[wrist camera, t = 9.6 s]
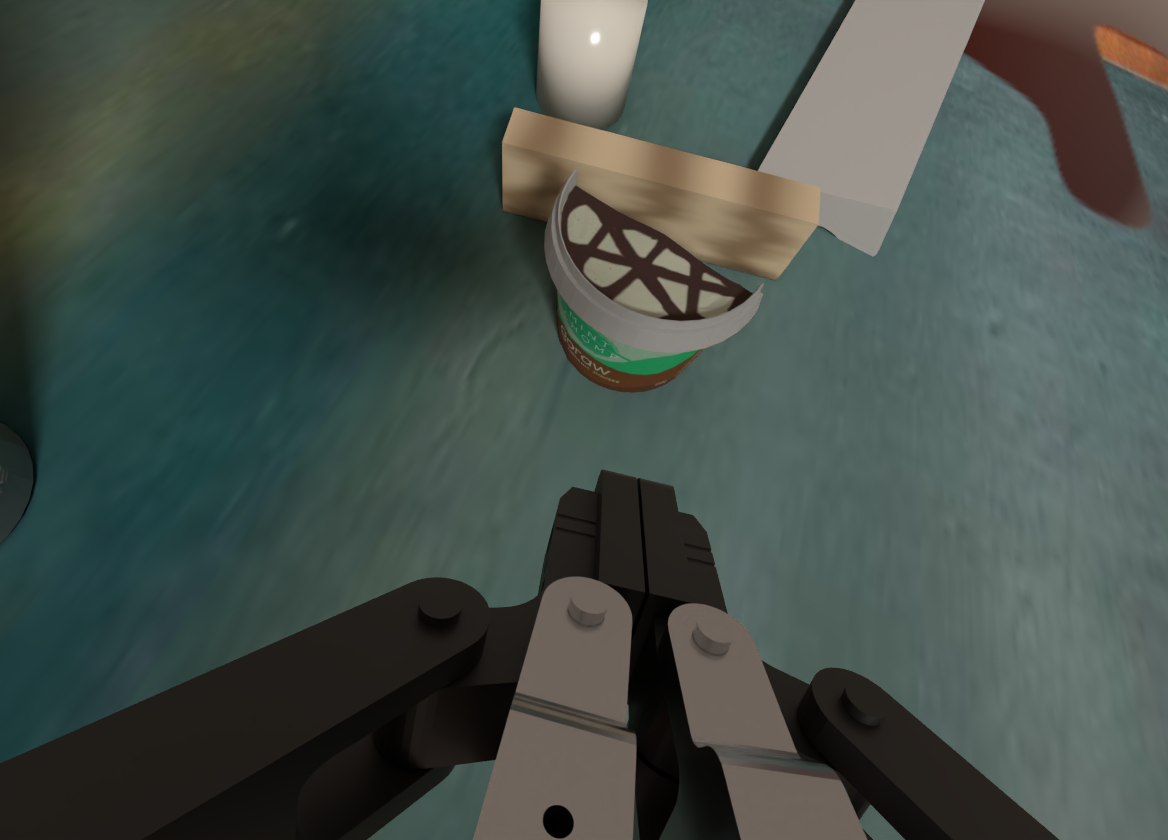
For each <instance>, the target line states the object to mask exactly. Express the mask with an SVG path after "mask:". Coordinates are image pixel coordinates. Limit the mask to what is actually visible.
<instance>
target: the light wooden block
mask: <svg viewBox="0 0 1168 840" xmlns="http://www.w3.org/2000/svg"><path fill="white" fill-rule="evenodd" d="M575 169H576V170H577V186H578V187H579V188H581V189H582V190H584V191H586V192H587V193H589V194H590V195H592V196H594V197H595V198H597V199H598V200H600V201H602V202H603V203H605V204H607V205H608V206H610V207H612V208H613V209H615V210H616V211H618V212H620V213H622V214H624V215H626V216H628V217H630V218H632V219H634V220H636V221H639V222H641V223H643V224H645V225H647V226H649V227H651V228H653V229H655V230H657V231H659V232H661V233H663V234H665V235H666V236H668V237H669V238H670V239H672V240H673V241H675V242H676V243H677V244H679V245H680V246H681V247H683V248H684V249H685V250H687V251H688V252H689V253H690V254H692V255H693V256H694V257H695V258H697V259H698V260H699V261H702V262H706V263H710V264H714V265H718V266H722V267H726V268H730V269H733V270H737V271H741V272H745V273H749V274H753V275H757V276H761V277H765V278H769V279H773V280H777V279H778V277H779V276H780V275H781V273H782V272H783V271H784V269H785V268H786V267H787V265H788V264H789V263H790V261H791V260H792V259H793V257H794V256H795V255H796V253H797V252H798V251H799V250H800V248H801V247H802V246H803V244H804V243H805V242H806V240H807V239H808V238H809V236H810V235H811V234H812V232H813V231H814V230H815V228H816V227H817V226H818V224H819V208H820V193H821V188H820V187H817V186H813V185H809V184H805V183H801V182H797V181H794V180H790V179H786V178H782V177H778V176H775V175H771V174H767V173H763V172H759V171H755V170H752V169H748V168H744V167H740V166H736V165H733V164H729V163H725V162H721V161H717V160H714V159H710V158H706V157H702V156H698V155H694V154H691V153H687V152H683V151H679V150H675V149H672V148H668V147H664V146H660V145H656V144H653V143H649V142H645V141H641V140H637V139H633V138H630V137H626V136H622V135H618V134H614V133H611V132H607V131H603V130H599V129H595V128H591V127H588V126H584V125H580V124H576V123H572V122H569V121H565V120H561V119H557V118H553V117H550V116H546V115H542V114H538V113H534V112H530V111H527V110H523V109H519V108H515V107H514V110H513V113H512V116H511V118H510V121H509V124H508V127H507V130H506V133H505V136H504V138H503V141H502V180H503V211H505V212H509V213H513V214H517V215H521V216H525V217H529V218H533V219H537V220H541V221H545V222H548V218H549V215H550V213H551V210H552V208H553V205H554V203H555V201H556V198H557V196H558V194H559V192H560V190H561V188H562V186H563V185H564V184H565V182H566V181H567V180H568V178H569V177H570V176H571V175H572V173H573V172H574V171H575Z"/></svg>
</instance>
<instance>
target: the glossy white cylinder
mask: <svg viewBox="0 0 1168 840" xmlns="http://www.w3.org/2000/svg"><path fill="white" fill-rule="evenodd" d="M647 2H648V0H541V10H540V29H539V47H538V66H537V84H536V99H537V102H538V105H539V107H540V109H541V110H542V112H543V113H544V114H545V115H546V116H550V117H553V118H557V119H561V120H565V121H569V122H572V123H576V124H580V125H584V126H588V127H591V128H595V129H599V130H602V129H605V128H607V127H609V126H611V125H613V124H614V123H615V122H616V121H618V119H619V118H620V117H621V115H622V113H623V110H624V107H625V102H626V98H627V93H628V89H629V84H630V80H631V75H632V71H633V66H634V62H635V57H636V53H637V48H638V44H639V39H640V34H641V30H642V25H643V21H644V16H645V12H646V7H647Z"/></svg>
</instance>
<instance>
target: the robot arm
mask: <svg viewBox="0 0 1168 840" xmlns="http://www.w3.org/2000/svg"><path fill="white" fill-rule="evenodd" d="M32 485H33V464H32V460H31V457H30V454H29V451H28V448H27V447H26V446H25V444H24V443H23V441H22V440H21V438H20V437H19V436H18V435H17V434H16V433H15V432H14V431H12V430H11V429H10V428H9V427H7V426H6V425H4V424H2V423H0V544H1V543H2V542H3V541H4V540H5V539H6V538H7V537H8V535H9V534H10V533H11V531H12V530H13V528H14V527H15V525H16V524H17V523H18V521H19V520H20V518H21V516H22V514H23V512H24V510H25V508H26V506H27V503H28V501H29V499H30V494H31V490H32ZM714 565H715V562H714V559H713V555H712V553H711V547H710V543H709V539H708V535H707V532H706V531H705V529H704V528H703V527H702V526H701V524H700V523H699V522H698V521H697V519H696V518H695V517H694V516H693V515H690V514H686V513H682V512H678V507H677V502H676V497H675V491H674V487H673V486H670V485H666V484H661V483H657V482H653V481H649V480H645V479H641V478H638V479H637V478H636V477H632V476H628V475H623V474H619V473H615V472H611V471H607V470H601V472H600V475H599V478H598V481H597V485H596V488H595V491H594V492H592V491H588V490H584V489H580V488H576V487H572V488H571V489H570V490H569V491H567V492H566V493H565V494H564V495H563V496H562V497H561V498H560V501H559V505H558V509H557V512H556V516H555V520H554V524H553V528H552V531H551V535H550V539H549V543H548V546H547V550H546V554H545V558H544V563H543V569H542V574H541V580H540V585H539V592H538V596H536V597H535V598H534V599H532V600H530V601H528V602H526V603H524V604H521V605H517V606H512V607H501V608H489V607H488V604H487V602H486V601H485V599H484V597H483V596H482V595H481V594H480V593H479V592H478V591H477V590H475V589H474V588H473V587H471V586H469V585H467V584H465V583H463V582H460V581H457V580H453V579H448V578H425V579H421V580H417V581H414V582H411V583H409V584H406V585H404V586H402V587H400V588H397V589H395V590H393V591H391V592H388V593H386V594H384V595H382V596H379V597H377V598H375V599H372V600H370V601H368V602H366V603H363V604H361V605H359V606H357V607H354V608H352V609H350V610H348V611H345V612H343V613H341V614H338V615H336V616H334V617H332V618H329V619H327V620H325V621H323V622H320V623H318V624H316V625H314V626H311V627H309V628H307V629H304V630H302V631H300V632H298V633H295V634H293V635H291V636H289V637H286V638H284V639H282V640H280V641H277V642H275V643H273V644H270V645H268V646H266V647H264V648H261V649H259V650H257V651H255V652H252V653H250V654H248V655H245V656H243V657H241V658H239V659H236V660H234V661H232V662H230V663H227V664H225V665H223V666H221V667H218V668H216V669H214V670H211V671H209V672H207V673H205V674H202V675H200V676H198V677H196V678H193V679H191V680H189V681H187V682H184V683H182V684H180V685H177V686H175V687H173V688H171V689H168V690H166V691H164V692H162V693H159V694H157V695H155V696H153V697H150V698H148V699H146V700H143V701H141V702H139V703H137V704H134V705H132V706H130V707H128V708H125V709H123V710H121V711H119V712H116V713H114V714H112V715H109V716H107V717H105V718H103V719H100V720H98V721H96V722H94V723H91V724H89V725H87V726H84V727H82V728H80V729H78V730H75V731H73V732H71V733H69V734H66V735H64V736H62V737H60V738H57V739H55V740H53V741H50V742H48V743H46V744H44V745H41V746H39V747H37V748H35V749H32V750H30V751H28V752H26V753H23V754H21V755H19V756H16V757H14V758H12V759H10V760H7V761H5V762H3V763H1V764H0V840H367V839H368V838H369V837H371V836H372V835H373V834H375V833H376V832H377V831H378V830H380V829H381V828H382V827H384V826H385V825H386V824H387V823H389V822H390V821H391V820H393V819H394V818H395V817H396V816H398V815H399V814H400V813H402V812H403V811H404V810H405V809H407V808H408V807H409V806H411V805H412V804H413V803H414V802H416V801H417V800H418V799H420V798H421V797H422V796H423V795H425V794H426V793H427V792H428V791H430V790H431V789H432V788H434V787H435V786H436V785H437V784H439V783H440V782H441V781H443V780H444V779H445V778H446V777H447V776H448V775H449V774H450V772H451V771H452V770H453V768H454V766H455V765H458V764H466V763H474V762H482V761H489V760H496V761H495V764H494V768H493V771H492V775H491V778H490V782H489V785H488V789H487V793H486V796H485V800H484V803H483V807H482V810H481V814H480V817H479V821H478V824H477V828H476V831H475V835H474V838H473V840H873V839H872V838H871V837H870V836H869V835H868V834H867V833H866V832H865V831H864V830H863V829H862V826H861V824H860V822H859V820H860V818H861V817H862V815H863V814H864V813H865V811H866V810H867V808H868V807H869V805H870V804H871V805H872V806H873V807H874V808H875V809H876V810H877V811H878V812H879V813H880V814H881V815H882V816H883V817H884V818H885V819H886V820H887V821H888V822H889V823H890V824H891V825H892V826H893V828H894V829H895V830H896V831H897V832H898V833H899V834H900V835H901V836H902V837H903V838H904V839H905V840H1059V839H1058V838H1057V837H1055V836H1054V835H1053V834H1052V833H1051V832H1050V831H1048V830H1047V829H1046V828H1045V827H1044V826H1043V825H1041V824H1040V823H1039V822H1038V821H1037V820H1036V819H1034V818H1033V817H1032V816H1031V815H1030V814H1028V813H1027V812H1026V811H1025V810H1024V809H1023V808H1021V807H1020V806H1019V805H1018V804H1017V803H1016V802H1014V801H1013V800H1012V799H1011V798H1010V797H1008V796H1007V795H1006V794H1005V793H1004V792H1003V791H1001V790H1000V789H999V788H998V787H997V786H996V785H994V784H993V783H992V782H991V781H990V780H989V779H987V778H986V777H985V776H984V775H983V774H981V773H980V772H979V771H978V770H977V769H976V768H974V767H973V766H972V765H971V764H970V763H969V762H967V761H966V760H965V759H964V758H963V757H962V756H960V755H959V754H958V753H957V752H956V751H954V750H953V749H952V748H951V747H950V746H949V745H947V744H946V743H945V742H944V741H943V740H942V739H940V738H939V737H938V736H937V735H936V734H935V733H933V732H932V731H931V730H930V729H929V728H927V727H926V726H925V725H924V724H923V723H922V722H920V721H919V720H918V719H917V718H916V717H915V716H913V715H912V714H911V713H910V712H909V711H908V710H906V709H905V708H904V707H903V706H902V705H900V704H899V703H898V702H897V701H896V700H895V699H893V698H892V697H891V696H890V695H889V694H888V693H886V692H885V691H884V690H883V689H881V688H880V687H879V686H878V685H876V684H875V683H873V682H872V681H870V680H869V679H867V678H865V677H863V676H861V675H859V674H857V673H854V672H852V671H849V670H845V669H840V668H826V669H823V670H820V671H819V672H818V673H816V675H815V676H814V678H813V680H812V681H811V683H810V685H809V684H807V683H805V682H803V681H801V680H799V679H797V678H795V677H793V676H790V675H788V674H786V673H784V672H782V671H780V670H778V669H776V668H774V667H772V666H770V665H768V664H767V663H765V662H764V661H762V660H761V658H760V655H759V652H758V650H757V647H756V645H755V642H754V640H753V638H752V637H751V635H750V634H749V632H748V631H747V630H746V629H745V628H744V626H743V625H742V624H740V623H739V622H738V621H737V620H736V619H734V618H733V617H732V616H730V615H729V614H728V613H727V609H726V606H725V602H724V598H723V594H722V590H721V586H720V582H719V578H718V574H717V570H716V567H714ZM627 704H628V705H629V720H628V723H627V725H626V712H627Z"/></svg>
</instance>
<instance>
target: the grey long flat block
mask: <svg viewBox="0 0 1168 840" xmlns="http://www.w3.org/2000/svg"><path fill="white" fill-rule="evenodd" d="M984 1H985V0H855V2H854V4H853V5H852V7H851V9H850V11H849V12H848V14H847V16H846V18H845V19H844V21H843V23H842V25H841V26H840V28H839V30H838V32H837V33H836V35H835V37H834V39H833V40H832V42H831V44H830V46H829V47H828V49H827V51H826V53H825V54H824V56H823V58H822V60H821V61H820V63H819V65H818V67H817V68H816V70H815V72H814V73H813V75H812V77H811V79H810V80H809V82H808V84H807V86H806V87H805V89H804V91H803V93H802V94H801V96H800V98H799V100H798V101H797V103H796V105H795V107H794V108H793V110H792V112H791V114H790V115H789V117H788V119H787V121H786V122H785V124H784V126H783V128H782V129H781V131H780V133H779V135H778V136H777V138H776V140H775V142H774V143H773V145H772V147H771V148H770V150H769V152H768V154H767V155H766V157H765V159H764V161H763V162H762V164H761V166H760V168H759V169H758V171H759V172H763V173H767V174H771V175H775V176H778V177H782V178H786V179H790V180H794V181H797V182H801V183H805V184H809V185H813V186H817V187H820V188H821V193H820V208H819V224H818V226H822V227H824V228H825V229H827V230H829V231H830V232H832V233H833V234H834V235H835V236H836V237H837V238H838V239H840V240H842V241H844V242H846V243H848V244H850V245H852V246H853V247H855V248H857V249H859V250H861V251H863V252H865V253H867V254H869V255H871V256H873V257H874V256H875V255H876V254H877V252H878V251H879V248H880V246H881V244H882V242H883V240H884V238H885V235H886V233H887V231H888V229H889V227H890V225H891V222H892V220H893V218H894V216H895V214H896V212H897V209H898V207H899V204H900V202H901V200H902V197H903V195H904V192H905V190H906V188H907V185H908V183H909V180H910V178H911V176H912V173H913V171H914V169H915V166H916V164H917V161H918V159H919V157H920V154H921V152H922V149H923V147H924V145H925V142H926V140H927V137H928V135H929V133H930V130H931V128H932V125H933V123H934V121H935V118H936V116H937V113H938V111H939V109H940V106H941V104H942V102H943V99H944V97H945V94H946V92H947V90H948V87H949V85H950V82H951V80H952V78H953V75H954V73H955V70H956V68H957V66H958V63H959V61H960V58H961V56H962V54H963V51H964V49H965V46H966V44H967V42H968V39H969V37H970V34H971V32H972V30H973V27H974V25H975V23H976V20H977V17H978V15H979V13H980V11H981V8H982V6H983V3H984Z"/></svg>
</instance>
